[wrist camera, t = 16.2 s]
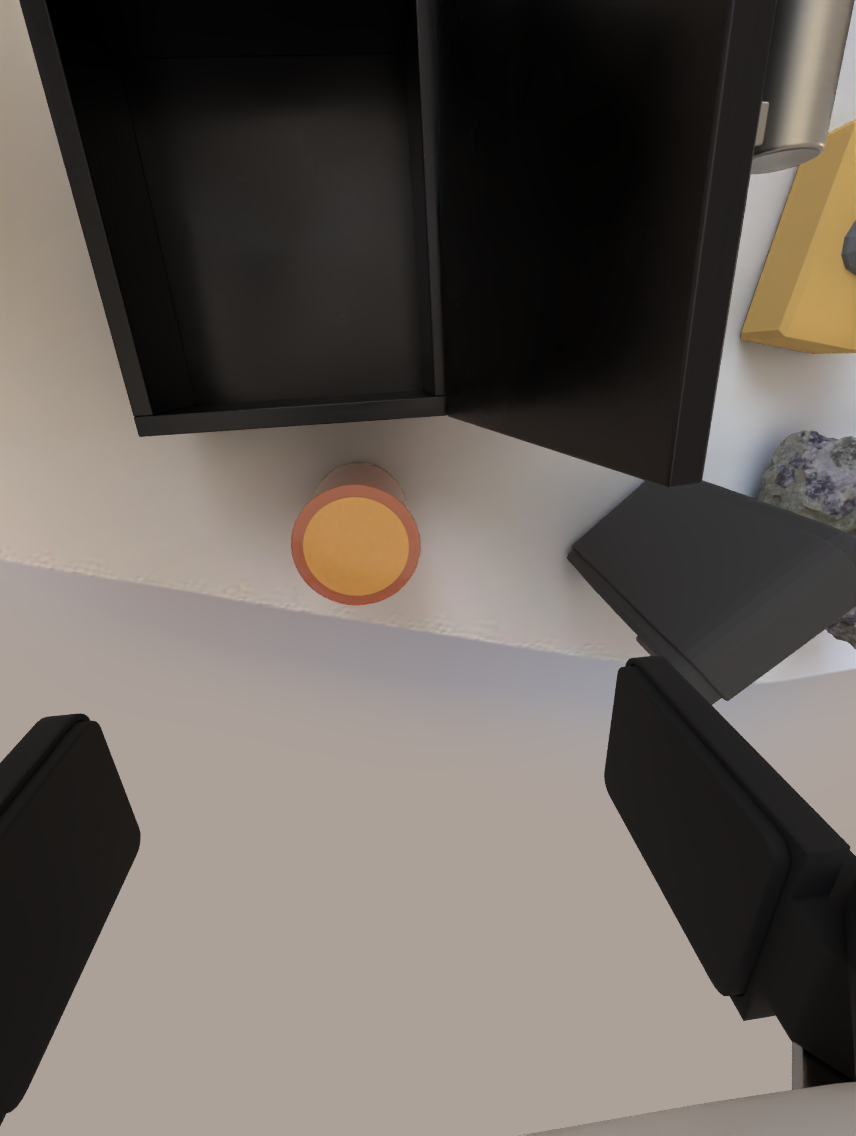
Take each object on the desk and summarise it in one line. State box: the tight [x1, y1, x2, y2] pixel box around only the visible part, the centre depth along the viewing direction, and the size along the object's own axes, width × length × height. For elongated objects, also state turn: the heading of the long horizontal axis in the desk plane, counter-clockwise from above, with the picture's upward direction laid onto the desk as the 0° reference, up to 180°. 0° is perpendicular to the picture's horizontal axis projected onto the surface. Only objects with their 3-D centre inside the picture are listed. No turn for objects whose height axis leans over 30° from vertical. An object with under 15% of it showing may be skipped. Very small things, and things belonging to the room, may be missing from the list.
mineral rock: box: [758, 430, 856, 649], centre depth 32 cm, size 13×11×10 cm
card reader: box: [567, 481, 856, 705], centre depth 28 cm, size 9×4×15 cm, turn 134°
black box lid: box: [431, 0, 854, 488], centre depth 14 cm, size 16×17×4 cm
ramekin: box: [291, 463, 420, 605], centre depth 29 cm, size 7×7×8 cm
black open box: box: [19, 0, 448, 437], centre depth 24 cm, size 15×17×7 cm
